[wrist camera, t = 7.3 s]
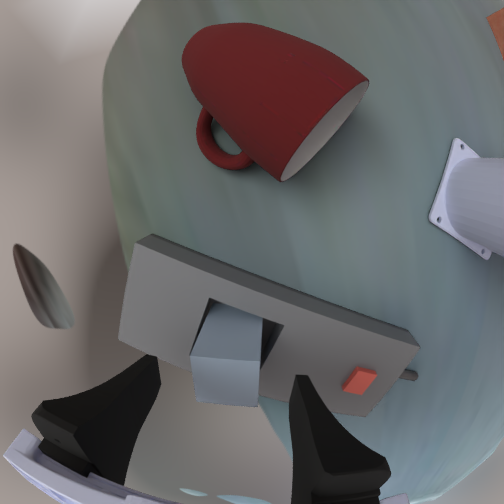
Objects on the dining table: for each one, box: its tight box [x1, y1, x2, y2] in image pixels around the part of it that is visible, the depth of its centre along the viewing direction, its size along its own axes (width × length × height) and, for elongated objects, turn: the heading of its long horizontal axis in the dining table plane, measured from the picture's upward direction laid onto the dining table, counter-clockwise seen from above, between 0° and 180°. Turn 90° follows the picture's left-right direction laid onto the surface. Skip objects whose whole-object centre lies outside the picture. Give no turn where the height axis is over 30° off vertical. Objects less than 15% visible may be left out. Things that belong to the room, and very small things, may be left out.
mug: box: [182, 23, 369, 182], centre depth 15 cm, size 10×8×10 cm
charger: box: [190, 303, 263, 407], centre depth 18 cm, size 4×4×7 cm
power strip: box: [118, 234, 420, 417], centre depth 21 cm, size 29×9×4 cm, turn 69°
